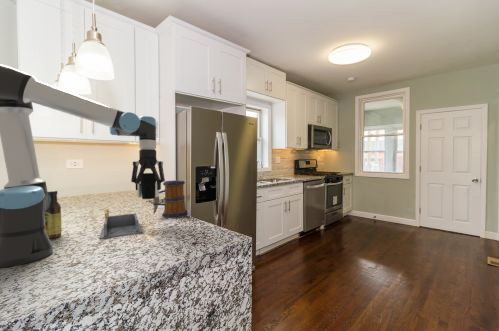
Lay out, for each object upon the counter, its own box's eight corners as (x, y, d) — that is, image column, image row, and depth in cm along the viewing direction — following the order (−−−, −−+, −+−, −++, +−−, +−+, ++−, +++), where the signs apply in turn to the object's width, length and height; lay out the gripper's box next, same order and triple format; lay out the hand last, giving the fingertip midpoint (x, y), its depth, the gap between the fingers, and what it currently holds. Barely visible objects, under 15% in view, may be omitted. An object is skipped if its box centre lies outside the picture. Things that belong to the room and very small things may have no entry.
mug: (155, 221, 126) (153, 183, 125) (150, 216, 138) (149, 181, 138) (191, 216, 136) (190, 181, 135) (184, 211, 148) (183, 179, 148)
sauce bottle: (41, 237, 102) (40, 191, 102) (60, 233, 106) (58, 189, 106) (44, 240, 97) (42, 192, 97) (63, 236, 102) (61, 190, 102)
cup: (156, 198, 112) (156, 173, 112) (139, 199, 110) (138, 173, 109) (157, 196, 119) (156, 172, 119) (140, 197, 117) (140, 173, 117)
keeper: (142, 232, 105) (141, 212, 105) (99, 239, 97) (98, 217, 97) (139, 223, 121) (138, 206, 121) (102, 228, 113) (101, 209, 113)
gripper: (171, 149, 118) (172, 195, 118) (129, 150, 118) (130, 196, 118) (166, 148, 111) (167, 197, 111) (122, 149, 110) (122, 198, 110)
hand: (148, 196), depth 114 cm, fingers closed on cup, 8 cm apart
